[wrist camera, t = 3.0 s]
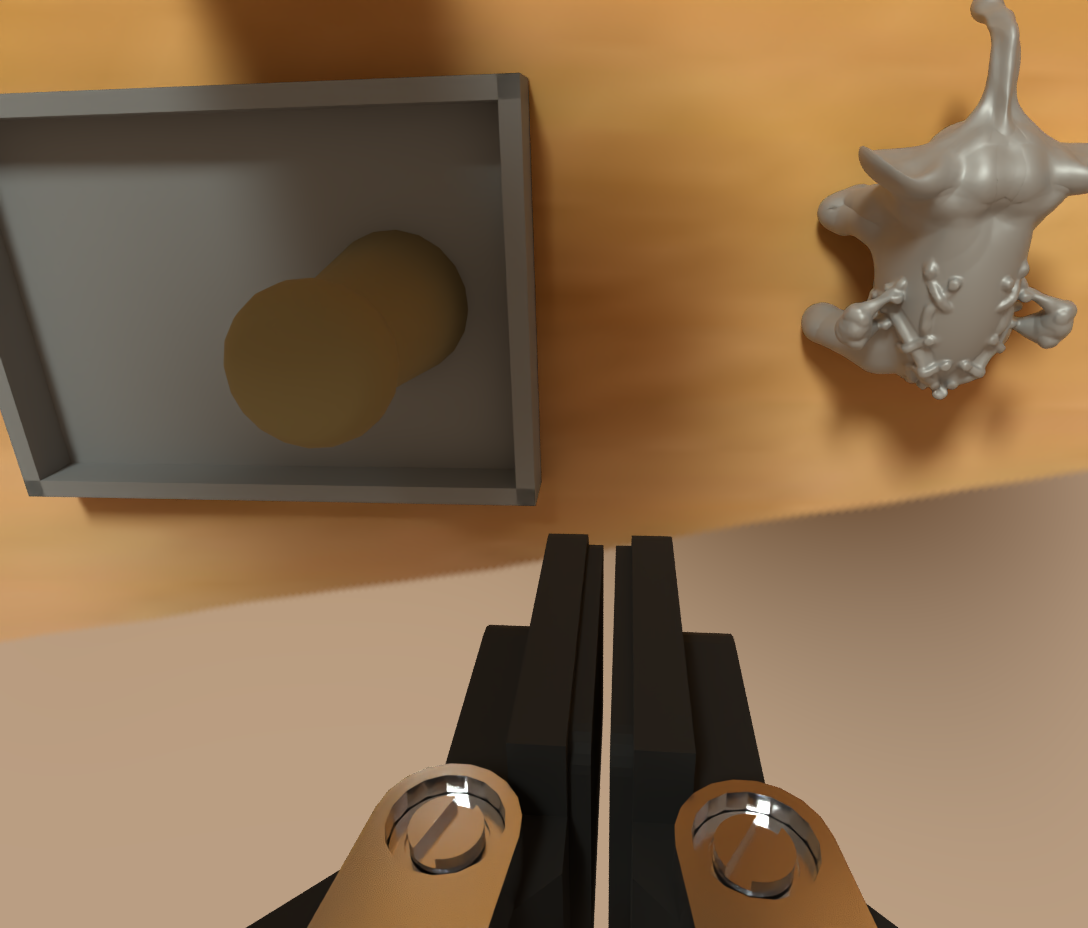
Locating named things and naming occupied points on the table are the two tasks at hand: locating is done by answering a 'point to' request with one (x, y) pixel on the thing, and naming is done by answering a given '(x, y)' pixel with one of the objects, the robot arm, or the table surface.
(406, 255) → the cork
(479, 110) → the tray
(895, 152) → the gray elephant figurine
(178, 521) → the table surface
